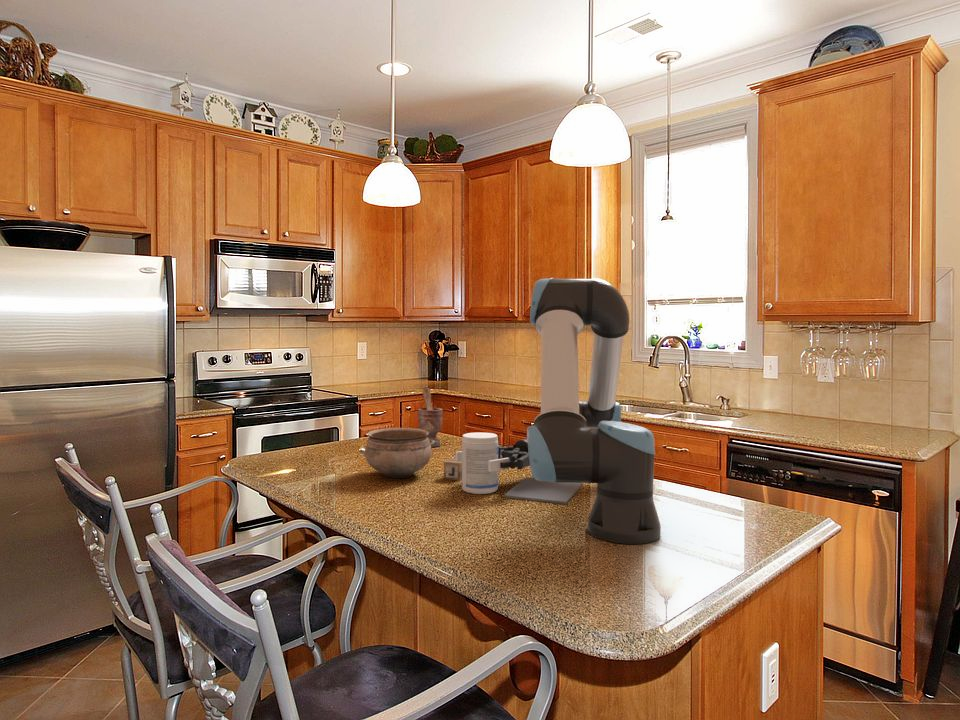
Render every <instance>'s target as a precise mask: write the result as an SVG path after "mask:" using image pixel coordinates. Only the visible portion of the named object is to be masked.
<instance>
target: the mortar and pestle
mask: <svg viewBox="0 0 960 720" xmlns="http://www.w3.org/2000/svg"><path fill="white" fill-rule="evenodd" d="M422 396H423V400H424V404H425V407H419V408H417V416H418V419H417V420H418V421H417V422H418V429H421V430H425V431H428V432H429V435H428V436H427V437H428V439H429V440H434V441H435V443H434V444H433V446H431V448H436V447H440V446H441V442H440V439H438V438H437V436H438V433H440V431H441V429H442V425H443V408H439V407H433V405H432V393H431V389H430V388H429V387H424V388H423V389H422Z"/></svg>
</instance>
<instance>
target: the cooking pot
mask: <svg viewBox="0 0 960 720" xmlns="http://www.w3.org/2000/svg"><path fill="white" fill-rule="evenodd" d="M428 435H429V432H428V431H425V430H421V429H420V428H411V427H390V428H389V427H386V428H380V429H379V428H378V429H372V430H370V431H368V432H367V436H368V440H367V441H366V446H365V449H364V450H363V449H359V451H358V452H359V453H360V454H363V455H364V457H365V460H366V462H367V464H368V465H369V466H370V467H371V468H372V469H374V470H375V471H376V472H378V473H381V474H383V475H384V476H386V477H387V478H389V479H390V478H391V479H404V478H409V477H411V476H412V475H413V474H416V473H417V472H419V471H420V470H422V469H423V468H424V467H426V465H428V463H429V461H430V459H431V458H432V454H433V453H432V447H431V446H433V444H434V443H435V441H434V440H429V439H428V437H427V436H428Z"/></svg>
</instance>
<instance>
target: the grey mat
mask: <svg viewBox="0 0 960 720" xmlns="http://www.w3.org/2000/svg"><path fill="white" fill-rule="evenodd" d="M582 486H583V483H569V482H555V483H552V482H548V481H538V480H536V479H535V478H534V477H527V476H526V477H524V478H523V479H522V480H521V481H519V482H518V483H517V484H516V485H514V486H512V488H511V489H510V490H509V491H507V492H506V493H505V494H503V498H507V499H517V500H525V501H533V502H540V503H541V502H542V503H550V504H560V505H568V503H569V502H570V501H571V499H572V498H573V497H574V496H575V494H577V492H578V491H579V490H580V488H581V487H582Z"/></svg>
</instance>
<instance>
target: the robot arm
mask: <svg viewBox="0 0 960 720" xmlns="http://www.w3.org/2000/svg"><path fill="white" fill-rule="evenodd" d="M529 313H530V314H529V322H530V324H531V325H534V326H535V329H536V331H537V333H538V334H539V335H540V336H541V356H540V357H541V361H540V362H541V365H540V366H541V370H540V413H539V414H538V415H537V416H536V417H534V420H533V424H532V425H530V426H528V427H527V428H526V438H523V439H518V440H517V441H515V443H514V444H513V446H510V445H509V446H504V445H498V459H496V460H491V461H488V471H489V472H493V471H498V472H499V471H503V470H509V469H511V470H514V469H517V470H519V471H520V470H523V469H525V468H526V467H529V469H530V473H531V476H532V478H535V479H536V480H538V481H548V482H552V483H555V482H569V483H582V484H597V485H596V486H597V487H596V496H595V499H594V503H593V504H592V508H591V510H590V514H589V515H588V519H587V531H588V533H589V534H590V535H591V536H593V537H595V538H598V539H600V540H602V541H606V542H611V543H616V544H617V543H618V544H626V545H640V544H641V545H642V544H648V543H652V542H656V541H658V540H659V539H660V537H661V532H662V531H661V523H660V522H661V521H660V519H659V516H658V511H657V508H656V506H655V505H656V504H655V502H654V472H655V456H656V450H655V446H656V445H655V436H654V434H653V432H652V431H651V430H650V429H648V428H646V427H644V426H640V425H637V424H633V423H627V422H623V421H622V420H621V419H622V407H621V404H620V402H618V401H616V397H617V390H618V389H617V388H618V383H619V374H620V368H621V357H622V351H623V344H624V337H625V336H626V335H628V332H629V329H630V322H631V321H630V311H629V308H628V306H627V303H626V301H625V299H624V297H623V295H622V294H621V293H620V292H619V290H618V289H617V288H616V287H615V286H614V285H612V284H611V283H609V282H608V281H606V280H604V279H601V278H556V277H550V278H540V279H538V280H536V281H535V283H534V285H533V290H532V294H531V305H530V312H529ZM584 326H590V330H591V332H592V333H593V341H592V351H591V352H592V353H591V364H590V365H591V366H590V375H589V376H590V377H589V386H588V387H589V388H588V398H587V401H586V400H584V401H583V400H580V391H579V385H580V381H579V353H578V351H579V347H578V335H579V334H580V333H581V332H582V331H583V329H584ZM455 459H456V460H455V462H462V450H460V451H455Z"/></svg>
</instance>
